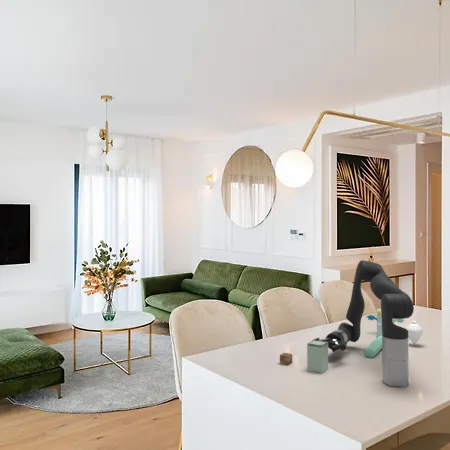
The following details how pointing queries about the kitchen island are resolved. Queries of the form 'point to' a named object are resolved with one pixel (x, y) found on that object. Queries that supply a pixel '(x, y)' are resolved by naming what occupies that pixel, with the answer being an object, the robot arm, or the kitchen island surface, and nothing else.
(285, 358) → the walnut block
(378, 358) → the kitchen island surface
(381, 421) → the kitchen island surface
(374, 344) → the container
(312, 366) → the tall sage green box
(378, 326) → the character sculpture
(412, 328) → the spinning top
